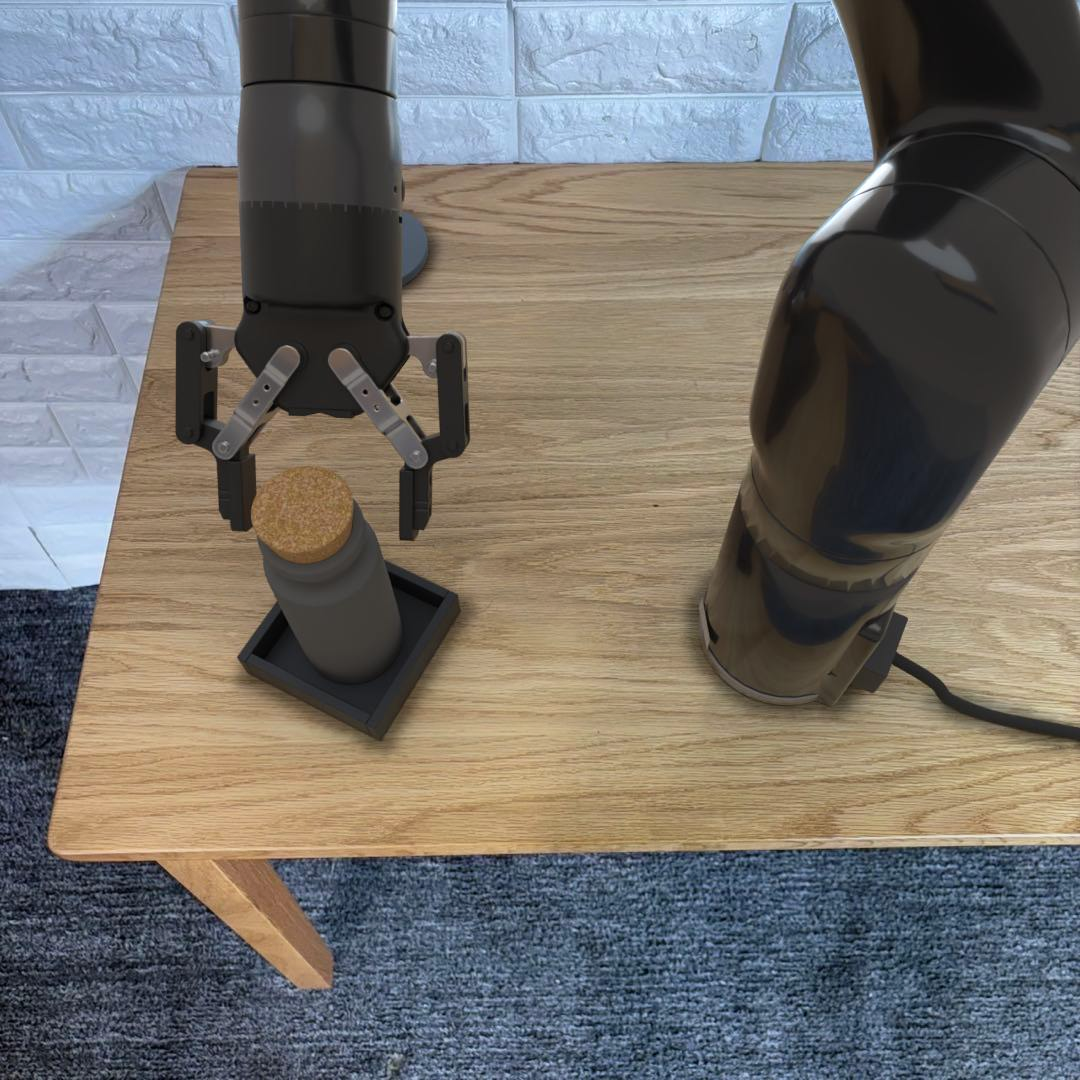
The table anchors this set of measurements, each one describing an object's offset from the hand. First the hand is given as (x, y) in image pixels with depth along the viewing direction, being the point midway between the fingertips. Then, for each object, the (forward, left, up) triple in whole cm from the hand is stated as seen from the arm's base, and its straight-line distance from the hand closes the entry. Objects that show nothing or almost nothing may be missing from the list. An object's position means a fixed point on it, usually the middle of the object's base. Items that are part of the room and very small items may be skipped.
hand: (327, 532), depth 51 cm
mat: (+15, -26, -10) cm, 32 cm away
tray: (-1, +1, -10) cm, 10 cm away
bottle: (-1, +1, -10) cm, 10 cm away
